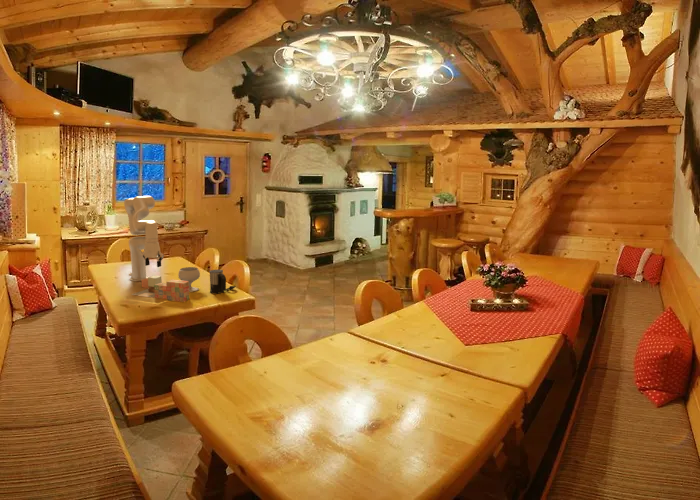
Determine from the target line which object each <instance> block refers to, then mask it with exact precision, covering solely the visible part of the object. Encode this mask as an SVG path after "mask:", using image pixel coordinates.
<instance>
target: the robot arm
mask: <svg viewBox="0 0 700 500" xmlns="http://www.w3.org/2000/svg"><path fill="white" fill-rule="evenodd" d="M155 205H156V201H155V198H154V197H153V196H151V195H143V196H142V195H141V196H140V195H138V196H135V197H130V198H126V199H125V200H124V202H123V206H124V210H125V212H126V214H127V217H128V228H129V233H130V234H131V235H133V236H134V237H131V238H130V239H128V247H129V250H130V260H131V261H130V262H131V272H130V273H128V276H129V277H130V278H129V280H130V281H131V282H142V281H141V280H143V279H147V278H148V277H149V275H148V276H147V266H150V263H151V262H150V259H156V266H157V268H159V267H162V261H163V259H164V256H165V254H163V253H162V252H161V247H160V242H159V234H158V233H159V231H158V223H157V222H156V221H157V220H154V219H150V220H149V219H148V220H147V219H146V220H142V219H145V218H147V217H148V216H149V215H150V210H151V209H154V207H155ZM141 235H143V236H141ZM142 250H143V251H142Z"/></svg>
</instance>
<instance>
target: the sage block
mask: <svg viewBox="0 0 700 500" xmlns="http://www.w3.org/2000/svg"><path fill="white" fill-rule="evenodd" d="M159 283H163V281H162V275H152V276H148V286H151V287H154V285H156V284H159Z"/></svg>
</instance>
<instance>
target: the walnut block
mask: <svg viewBox="0 0 700 500" xmlns="http://www.w3.org/2000/svg"><path fill="white" fill-rule="evenodd" d="M147 289H148V291H149V292H152V293H155V290H154V287H151V286H148V288H147Z"/></svg>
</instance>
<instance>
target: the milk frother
mask: <svg viewBox="0 0 700 500" xmlns="http://www.w3.org/2000/svg"><path fill="white" fill-rule="evenodd" d="M208 272H209V286H210V288H209V290H210V291H209V292H210V294H222V293H224V292H225V291H229V290H230V291H232V290H233V289H235V288H237V286H236V285H234V286H233V285H230V286H229V287H227V278H226V275H225V274H224V270H223V269H211V270H209V271H208ZM231 289H232V290H231Z"/></svg>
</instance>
